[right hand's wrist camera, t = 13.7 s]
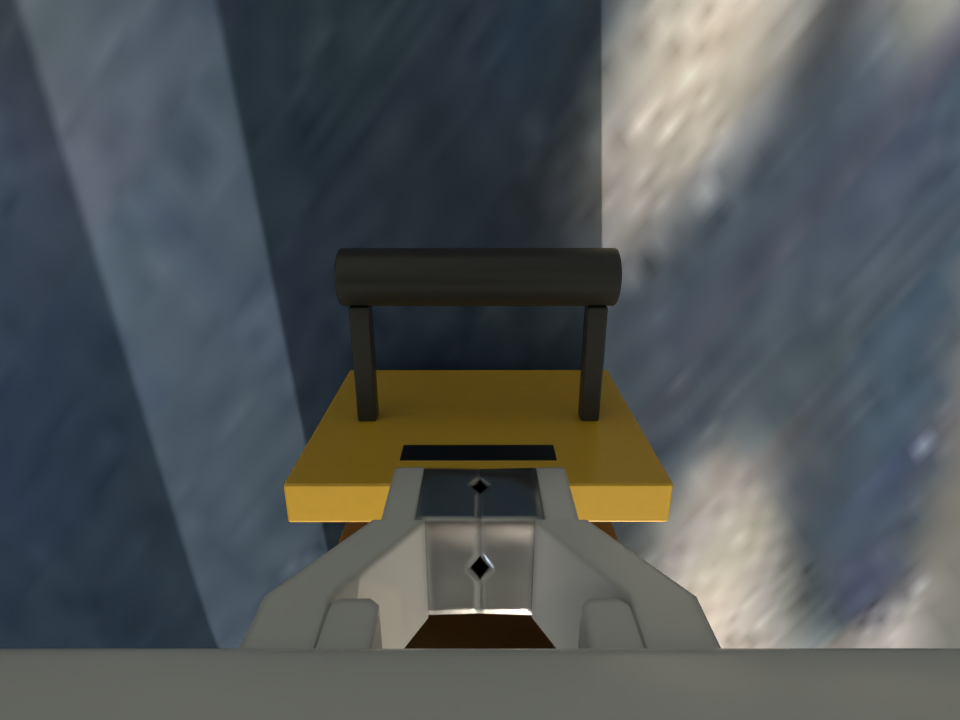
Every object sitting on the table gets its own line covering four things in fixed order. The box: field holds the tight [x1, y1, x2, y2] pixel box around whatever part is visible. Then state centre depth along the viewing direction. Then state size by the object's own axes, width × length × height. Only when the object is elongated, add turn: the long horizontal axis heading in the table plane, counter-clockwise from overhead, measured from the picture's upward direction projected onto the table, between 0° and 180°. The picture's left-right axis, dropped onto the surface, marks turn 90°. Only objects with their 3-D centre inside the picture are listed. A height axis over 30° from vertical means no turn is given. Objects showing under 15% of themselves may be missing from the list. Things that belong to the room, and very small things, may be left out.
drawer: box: [284, 248, 673, 649], centre depth 21 cm, size 24×10×8 cm, turn 0°
